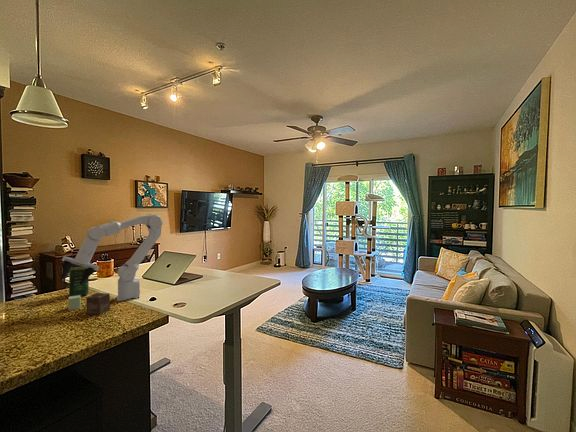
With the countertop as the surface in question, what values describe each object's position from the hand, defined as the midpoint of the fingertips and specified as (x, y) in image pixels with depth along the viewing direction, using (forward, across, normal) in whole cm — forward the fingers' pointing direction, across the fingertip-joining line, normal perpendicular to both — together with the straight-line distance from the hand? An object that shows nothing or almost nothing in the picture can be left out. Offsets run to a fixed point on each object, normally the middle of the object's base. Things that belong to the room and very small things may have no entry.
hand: (72, 281), depth 120 cm
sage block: (+11, +5, +2) cm, 12 cm away
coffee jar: (+10, -3, +22) cm, 24 cm away
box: (+8, +17, -6) cm, 20 cm away
